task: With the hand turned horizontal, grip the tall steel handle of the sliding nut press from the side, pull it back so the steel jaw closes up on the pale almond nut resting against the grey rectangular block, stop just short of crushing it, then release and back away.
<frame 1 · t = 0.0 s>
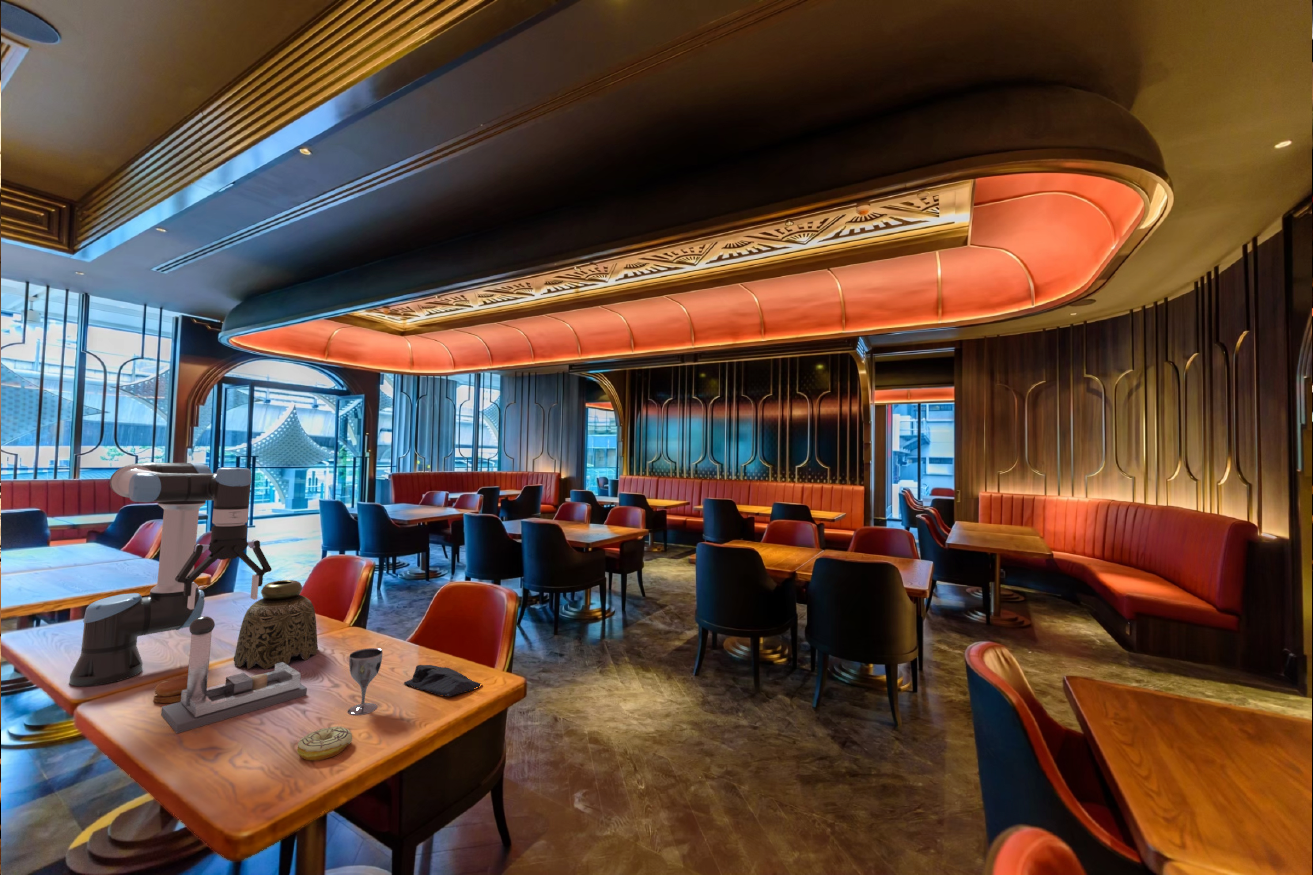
hand: (223, 603, 141), 28 cm above the table, tool pointing down, fingers open, 13 cm apart
decorated donut: (324, 751, 122), on the table
press bench: (237, 704, 142), on the table
wine glass: (362, 709, 142), on the table
black crumpled cloth: (443, 686, 160), on the table
grey rectangular block: (238, 687, 143), on the press bench, point 4 cm above the table
lamp shade: (276, 657, 177), on the table
press ram: (243, 652, 144), point 14 cm above the table, slide at 0.0 cm
nut: (257, 691, 146), point 2 cm above the table, touching press bench
burger: (175, 698, 145), on the table
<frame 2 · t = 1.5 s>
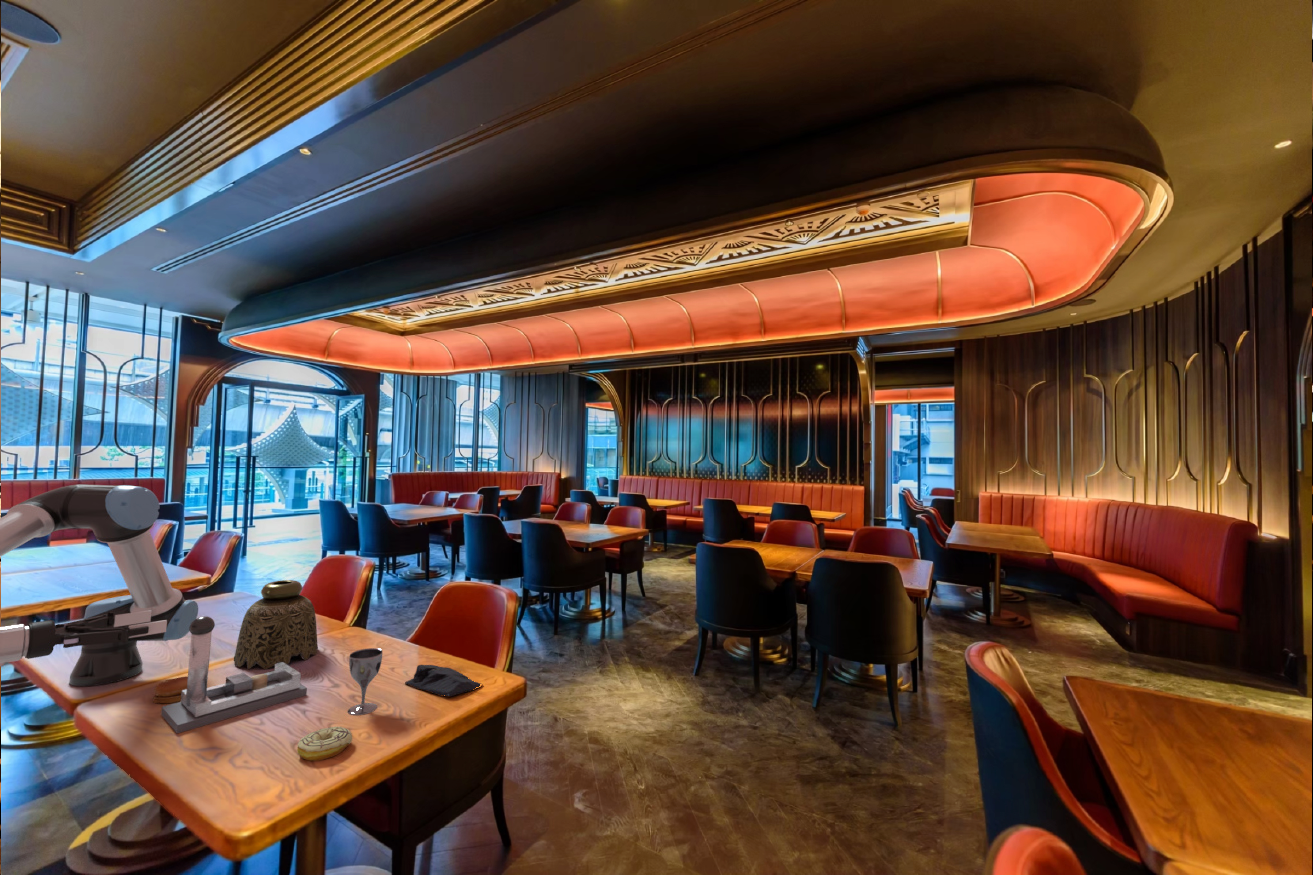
hand: (158, 620, 130), 26 cm above the table, tool horizontal, fingers open, 13 cm apart
nothing on the table moved.
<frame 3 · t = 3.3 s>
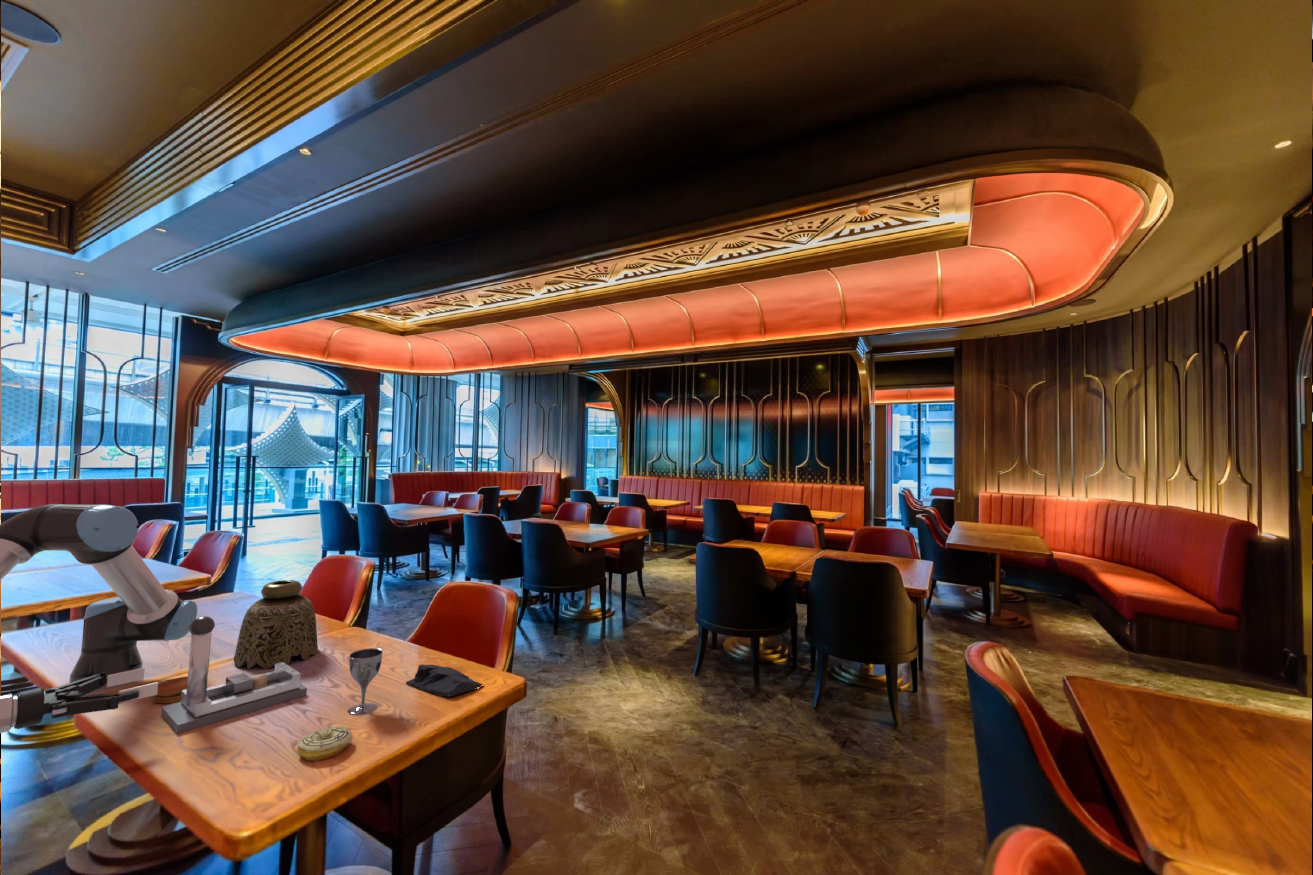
hand: (150, 680, 128), 12 cm above the table, tool horizontal, fingers open, 13 cm apart
nothing on the table moved.
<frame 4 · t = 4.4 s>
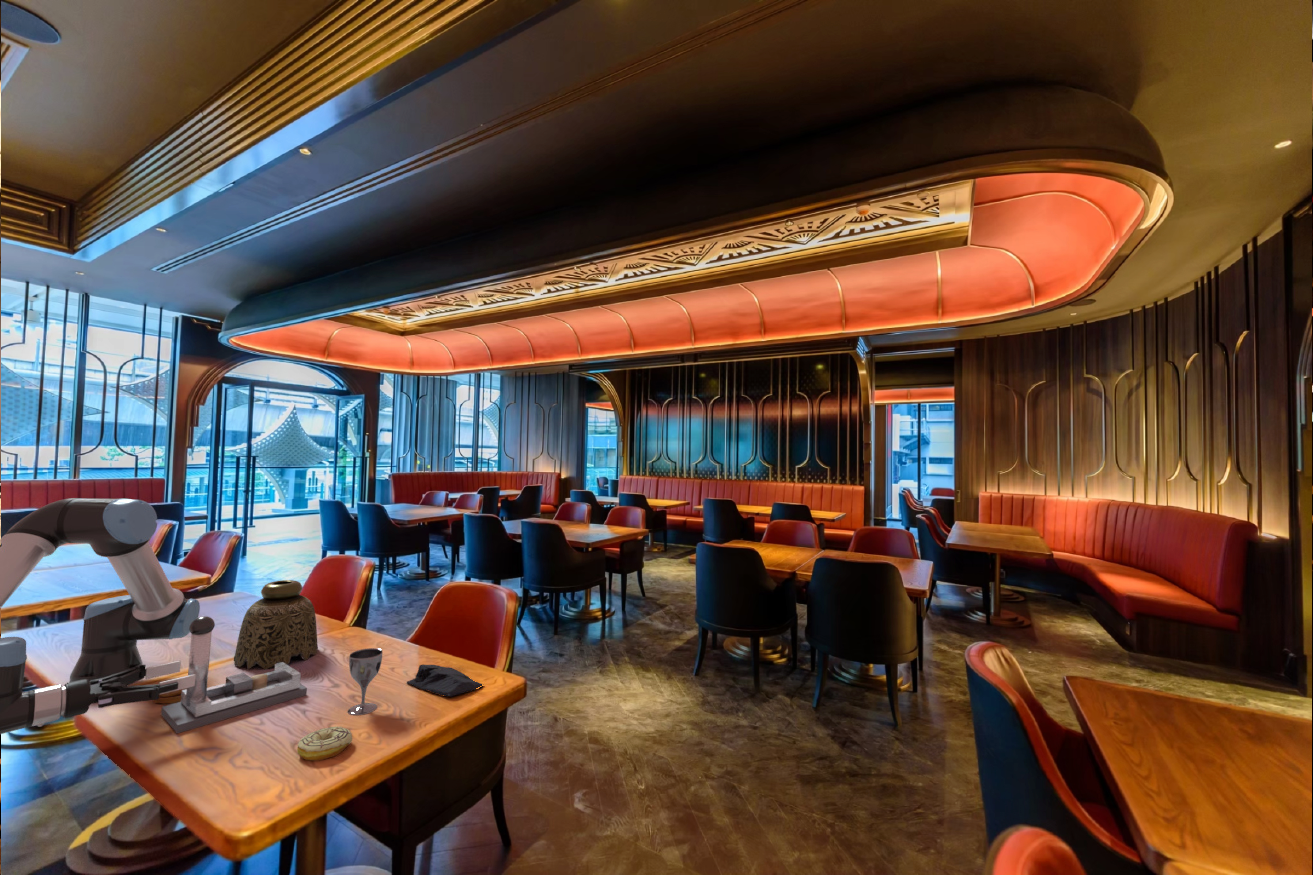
hand: (187, 672, 133), 12 cm above the table, tool horizontal, fingers open, 13 cm apart
nothing on the table moved.
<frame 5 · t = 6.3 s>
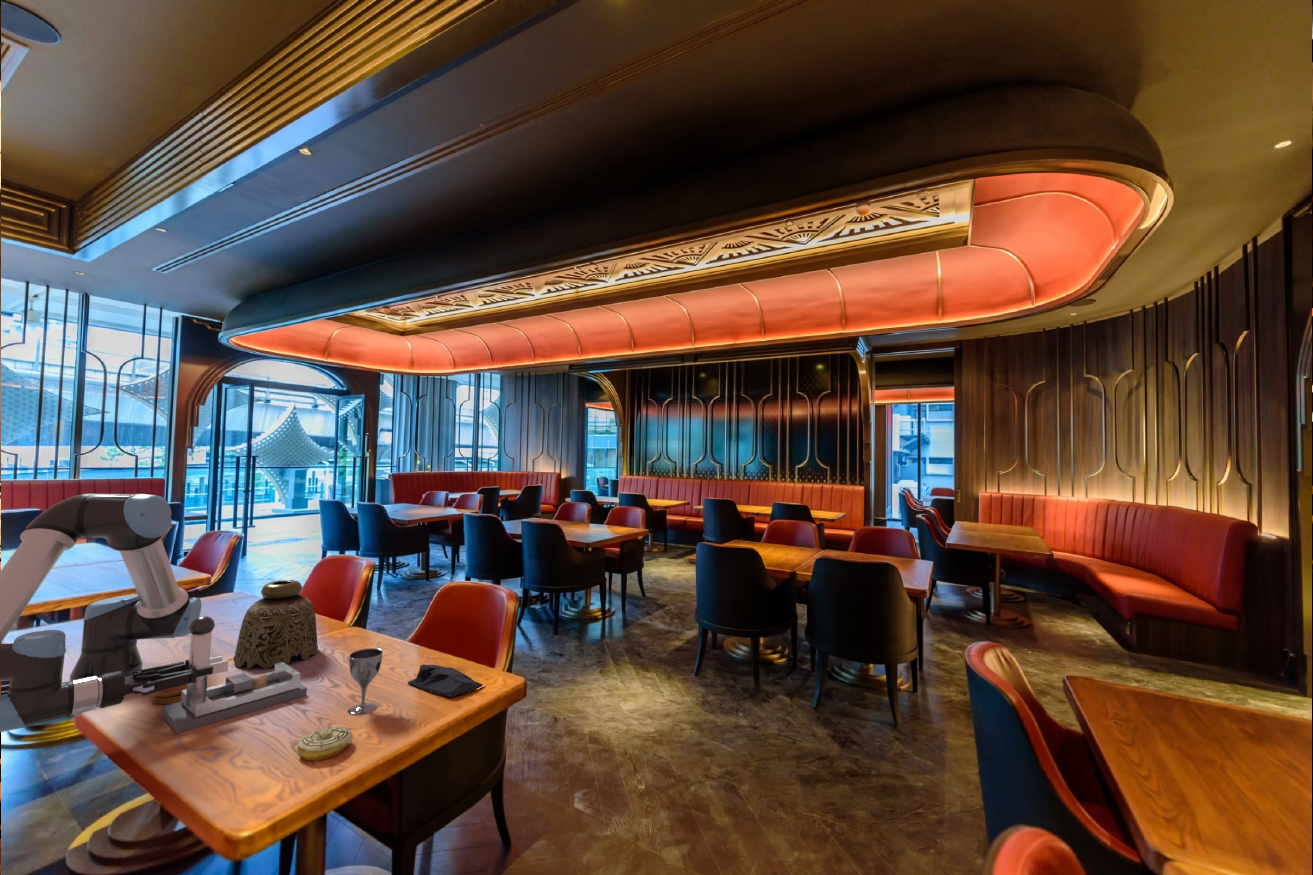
hand: (224, 663, 140), 12 cm above the table, tool horizontal, fingers closed on press ram, 4 cm apart
press ram: (243, 652, 144), point 14 cm above the table, slide at 0.0 cm, touching gripper
everything else where it was.
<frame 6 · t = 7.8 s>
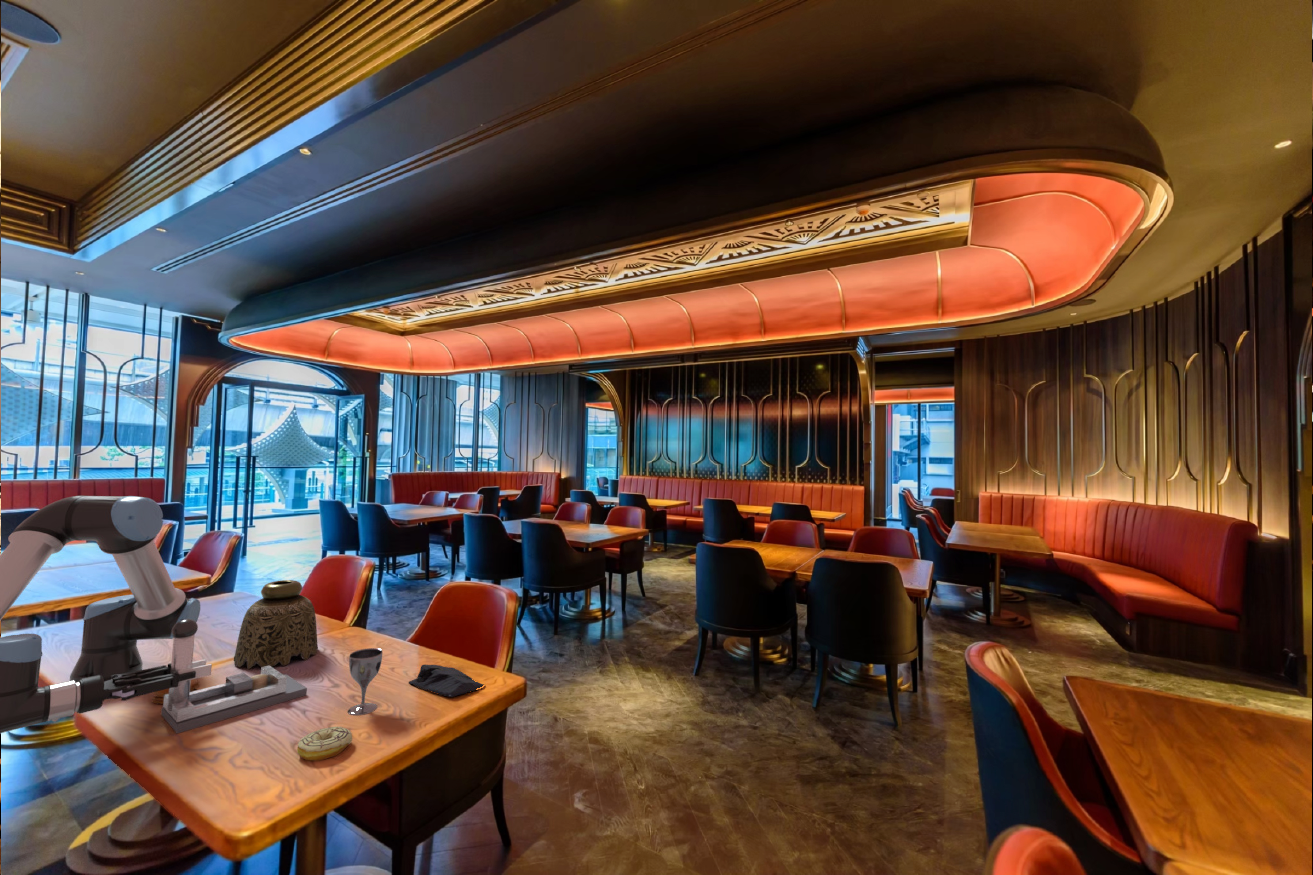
hand: (207, 667, 137), 12 cm above the table, tool horizontal, fingers closed on press ram, 4 cm apart
press ram: (228, 655, 141), point 14 cm above the table, slide at 3.5 cm, touching gripper
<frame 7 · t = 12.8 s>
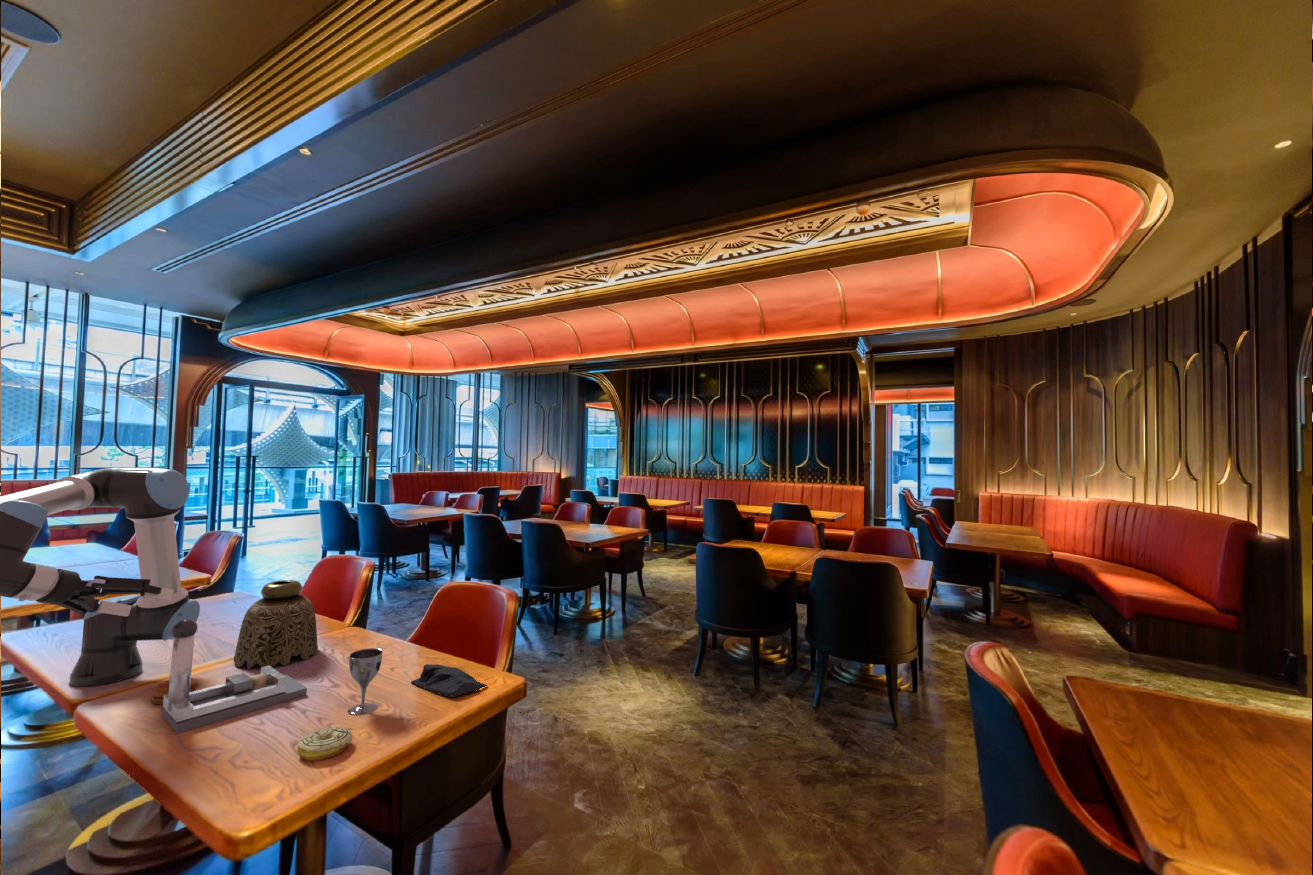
hand: (150, 603, 135), 29 cm above the table, tool tilted 65°, fingers open, 13 cm apart
press ram: (227, 655, 141), point 14 cm above the table, slide at 3.5 cm
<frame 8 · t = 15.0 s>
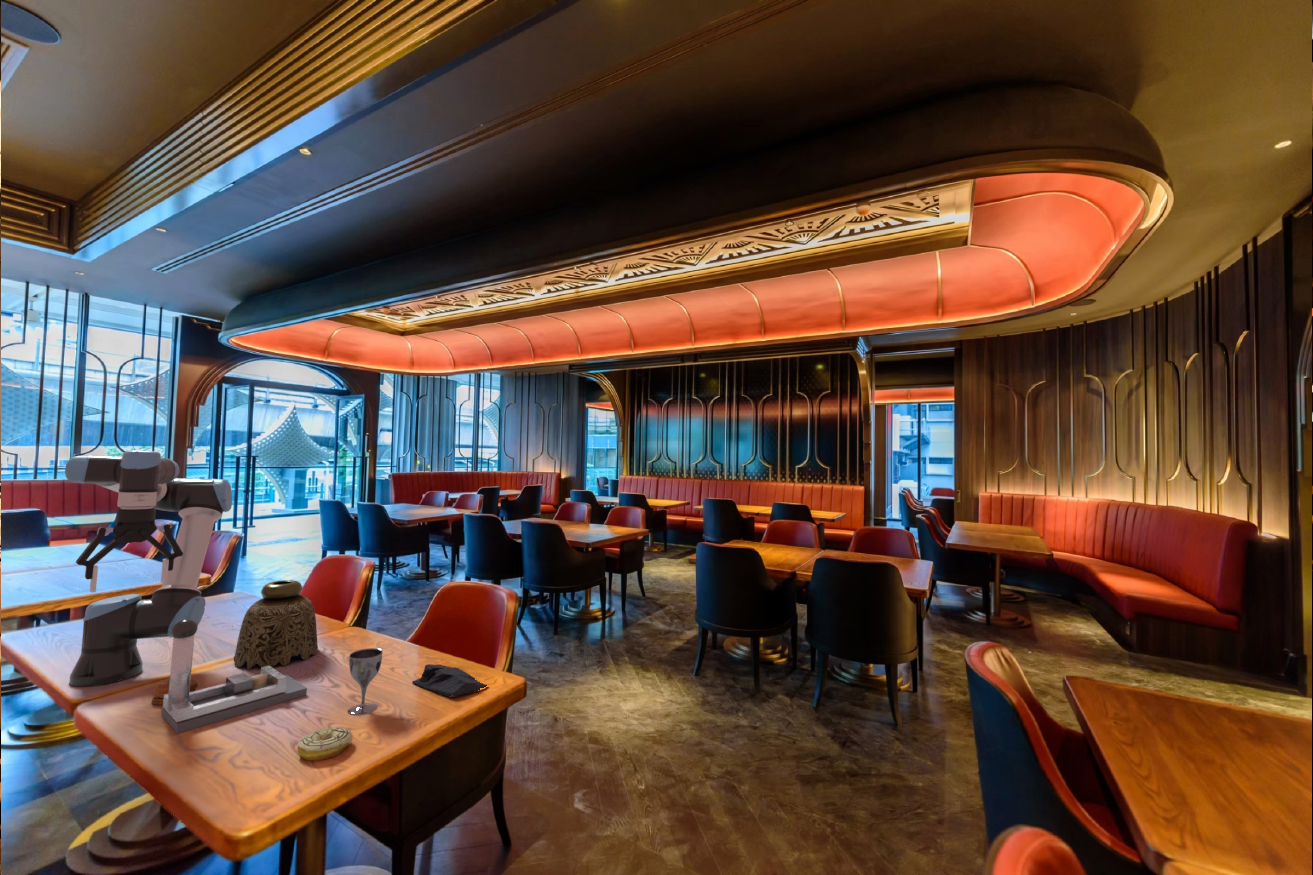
hand: (129, 587, 140), 32 cm above the table, tool pointing down, fingers open, 13 cm apart
at the end: press ram slide at 3.5 cm; nut moved 0.0 cm from its start; the gripper is holding nothing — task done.
